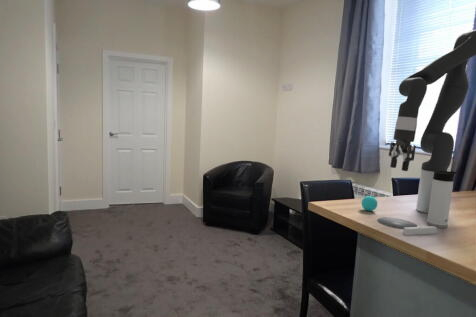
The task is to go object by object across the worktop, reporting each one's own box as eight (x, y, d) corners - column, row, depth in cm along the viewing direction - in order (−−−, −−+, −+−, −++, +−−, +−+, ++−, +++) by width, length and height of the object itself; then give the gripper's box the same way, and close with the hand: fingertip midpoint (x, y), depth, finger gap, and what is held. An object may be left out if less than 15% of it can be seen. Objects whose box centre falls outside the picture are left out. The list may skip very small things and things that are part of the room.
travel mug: (451, 229, 118) (459, 173, 115) (430, 227, 119) (438, 171, 117) (444, 224, 124) (451, 170, 122) (424, 222, 125) (431, 168, 123)
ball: (370, 208, 141) (371, 194, 140) (379, 212, 135) (381, 197, 134) (357, 208, 139) (359, 194, 138) (366, 212, 133) (368, 198, 132)
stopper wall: (432, 231, 114) (433, 226, 114) (436, 233, 113) (437, 227, 112) (403, 233, 111) (403, 227, 110) (406, 234, 109) (407, 228, 109)
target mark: (398, 217, 130) (399, 216, 130) (426, 228, 117) (426, 228, 117) (369, 218, 126) (370, 217, 126) (394, 229, 114) (394, 229, 114)
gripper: (425, 130, 128) (417, 173, 130) (404, 129, 142) (397, 167, 144) (406, 128, 127) (399, 171, 129) (387, 127, 141) (380, 165, 143)
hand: (398, 169), depth 137 cm, fingers open, 8 cm apart
